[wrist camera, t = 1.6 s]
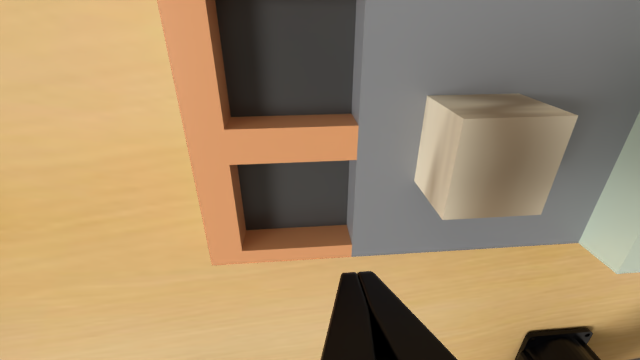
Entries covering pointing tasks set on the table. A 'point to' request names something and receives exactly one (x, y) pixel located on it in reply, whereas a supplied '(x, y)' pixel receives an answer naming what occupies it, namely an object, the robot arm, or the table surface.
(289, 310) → the table surface
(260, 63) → the trap deck
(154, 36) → the table surface
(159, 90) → the table surface
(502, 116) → the birch block
